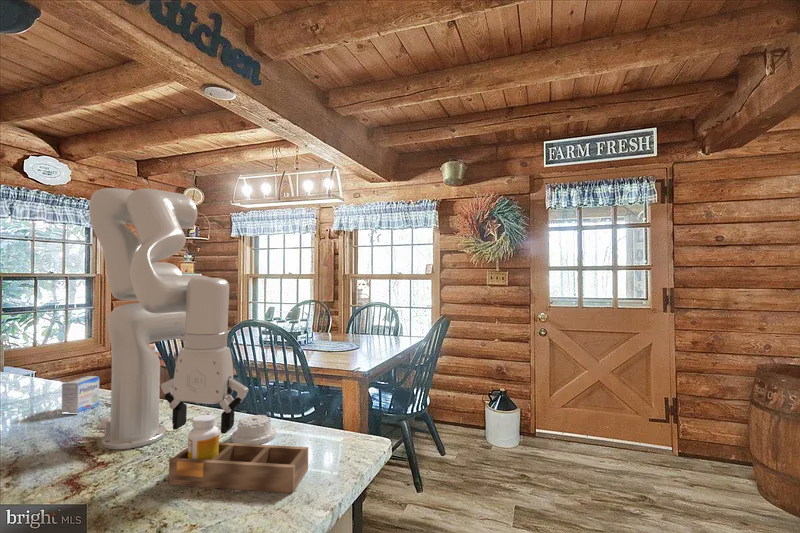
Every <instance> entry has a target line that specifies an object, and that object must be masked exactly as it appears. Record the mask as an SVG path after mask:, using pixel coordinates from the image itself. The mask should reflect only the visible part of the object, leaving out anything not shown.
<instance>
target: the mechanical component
mask: <svg viewBox="0 0 800 533" xmlns="http://www.w3.org/2000/svg"><path fill="white" fill-rule="evenodd" d="M276 436H277V429H276V427H275V426H272V419H271V416H269V417H268V416H267V415H265V414H256V415H249V416H245V417H244V416H243V417H242V418H240V419H238V422H237V429H236V430H234V431H233V432H232V434H231V443H240V444H258V445H263V444H265V442H266V443H269V442H271V441H272V440H274V439H273V438H274V437H275V438H276ZM271 439H272V440H271Z"/></svg>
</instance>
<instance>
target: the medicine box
mask: <svg viewBox="0 0 800 533" xmlns="http://www.w3.org/2000/svg"><path fill="white" fill-rule="evenodd" d="M61 384H62V385H61V386H62V387H61V388H62V389H61V413H62V412H69V413H79V412H82V411H85V410H87V409H90V408H92V407H94V406H97V405H98V406H99V405H100V376H98V375H97V376H96V375H87V376H86V375H85V376H82V377H80V378H76V379H73V380H70V381H67V382H64V383H61ZM98 406H97V407H98ZM94 408H95V407H94ZM92 409H93V408H92ZM90 410H91V409H90Z"/></svg>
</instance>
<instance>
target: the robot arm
mask: <svg viewBox="0 0 800 533" xmlns="http://www.w3.org/2000/svg"><path fill="white" fill-rule="evenodd" d="M88 204H89V206H88V210H89V211H88V212H89V213H88V214H89V220H90V225H91V228H92V230H93V232H94V234H95V236H96V238H97V240H98V242H99V244H100V246H101V250H102V253H103V259H104V264H105V265H104V266H105V271H106V276H107V282H108V286H109V287H108V288H109V291H110V293H111V296H113V297H114V298H115V299H117V300H119V301H138V302H134V303H133V302H132V303H126V304H123V305H122V304H121V305H119V306H117V307H115V308H114V309H112V310H111V312H110V313H109V315H108V318H107V329H108V330H107V331H108V336H109V342H110V348H111V384H110V385H111V386H110V387H111V390H110V391H111V392H110V393H111V394H110V417H104V418H102V419H101V420H100V421H99V423H98V424H97V425H96V429H97V431H105V435H104V436H103V437H102V438H101V446H102V447H103V448H105V449H110V450H127V449H133V448H139V447H144V446H147V445H150V444H152V443H155V442H157V441H159V440H161V439H162V438H164V437H165V435H166V433H167V428H166V426H164V425H162V424H159V423H160V391H161V390H162V393H163V394H164V399H165V400H166V401H167V402H168V404H169V408H170V409H172V417H171V418H172V421H171V422H172V430H174V431H175V430H176V431H177V430H179V428H181V427H183V426H185V425H186V424H187V412H188V410H187V409H188V405H187V403H195V404H206V405H207V404H209V405H212V404H213V405H214V404H215V405H216V404H219V406H220V407H221V408H222V409H223V411H222V413H221V415H220V416H221V419H220V433H221V434H227V432H229V431H230V430H231V429H232V428H233V427H234V425H235V409H236V408H237V407H238V406H240V405H241V403H243V401H244V400H245V398H246V396H247V394H248V392H249V388H248V387H247V386H245V384H242V383H241V382H239V381H238V380H236V379H234V366H233V364H234V363H233V358H232V357H233V356H232V352H231V348H230V347H229V346H228V334H229V333H228V329H229V328H228V326H229V325H228V324H229V307H230V306H229V302H230V284H229V282H228V280H226V279H224V278H222V277H221V278H220V277H210V276H207V275H201V274H183V272H182V271H181V269H180V268H179V267H178V266H177V265H175V263H169V262H165V261H164V262H161V261H163V260H165V259H168V258H170V257H172V256H174V255H176V254H178V253H179V252H181V250H183V248H184V247H185V245H186V241H187V238H186V235H185V233H184V230H187V229H190V228H192V227H193V226H195V224H196V221H197V220H198V219H197V218H198V208H197V205H196V203H195V201H194V200H193V199H192V198H191V197H190V196H189V195H186V194H184V193H179V192H173V191H169V190H167V191H166V190H161V189H156V188H155V189H154V188H140V189H139V188H138V189H136V190H134V189H133V190H131V189H126V188H116V187H106V188H100V189H97V190H96V191H94V192H93V194H92V195H91V197H90V199H89V203H88ZM127 225H131V226H132V225H133V227H134V229H135V231H136V233H135V232H134V231H132V230H131V229H130V228H128V227H127ZM178 339H179V341H182V342H183V346H184V347H181V348H179V351H178V355H177V358H176V362H175V367H174V374H173V378H171V379H170V380H167V381H165V382H162V383H160V382H161V360H160V357H159V355H158V354H157V353H156V352H155V351H154V349H153V348H152V347H151V346H150V344H152V343H156V342H162V341H163V342H164V341H170V340H171V341H172V340H178ZM160 387H161V390H160ZM234 391H235V392H236V393H237V394H236V396H235V398H234V397H233V396H232V395H233V392H234Z"/></svg>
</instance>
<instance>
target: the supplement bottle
mask: <svg viewBox="0 0 800 533" xmlns="http://www.w3.org/2000/svg"><path fill="white" fill-rule="evenodd" d="M192 428H193V429H190V431H189V433H188V437H187V448H188V459H203V460H212V459H213V458H214V457H215V456H217V455H218V454H219V442H220V430H219V427H217V426H216V415H213V414H202V415H197V416H196V417H194V418H192Z"/></svg>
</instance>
